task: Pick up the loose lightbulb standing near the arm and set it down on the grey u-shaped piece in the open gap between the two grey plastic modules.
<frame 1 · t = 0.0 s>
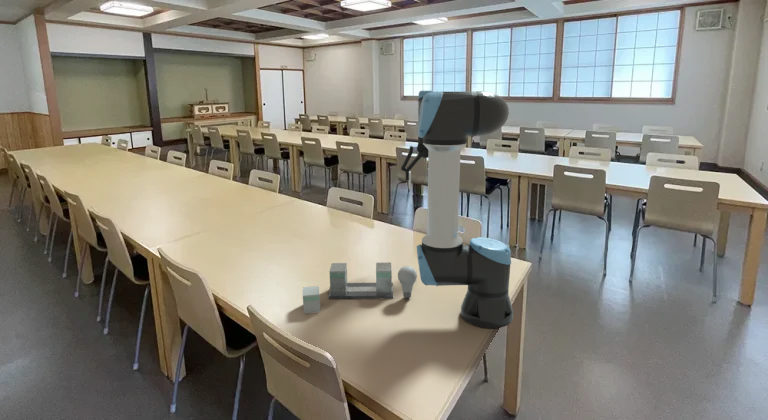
hand: (427, 188, 172), 28 cm above the table, fingers open, 13 cm apart
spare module: (311, 308, 138), on the table
grey u-shaped piece: (361, 291, 149), on the table
lightbulb: (407, 298, 144), on the table
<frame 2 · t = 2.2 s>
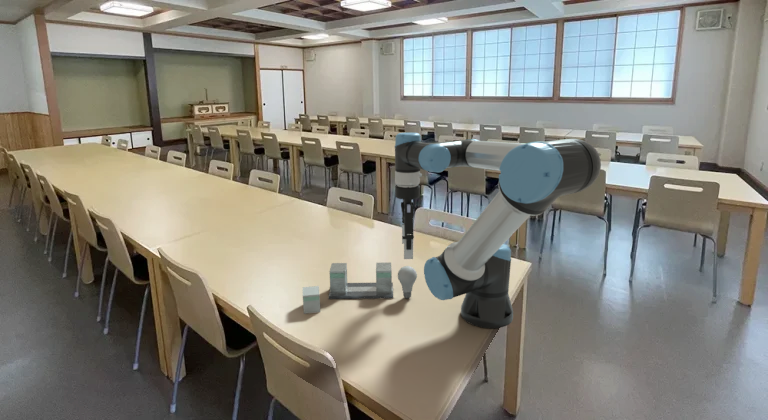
hand: (407, 250, 140), 16 cm above the table, fingers open, 13 cm apart
nothing on the table moved.
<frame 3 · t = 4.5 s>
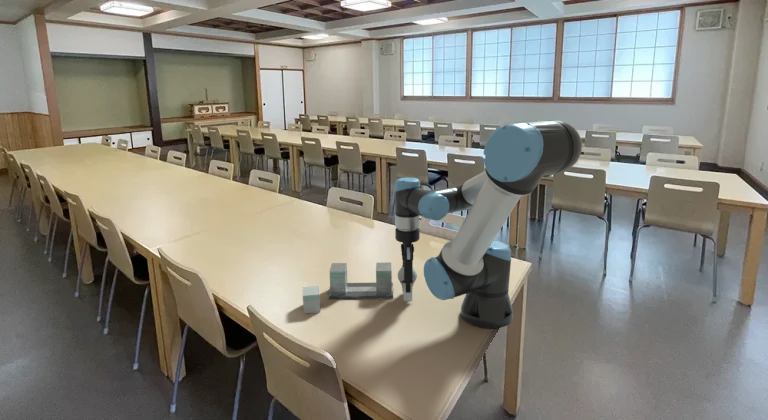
hand: (407, 295, 144), 1 cm above the table, fingers closed on lightbulb, 6 cm apart
lightbulb: (407, 298, 144), on the table, touching gripper
everything else where it was.
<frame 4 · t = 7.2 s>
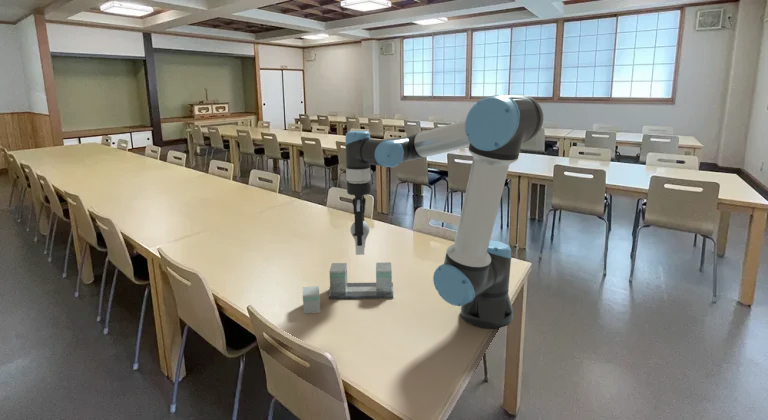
hand: (360, 250, 145), 15 cm above the table, fingers closed on lightbulb, 6 cm apart
lightbulb: (360, 253, 145), point 14 cm above the table, touching gripper
everything else where it was.
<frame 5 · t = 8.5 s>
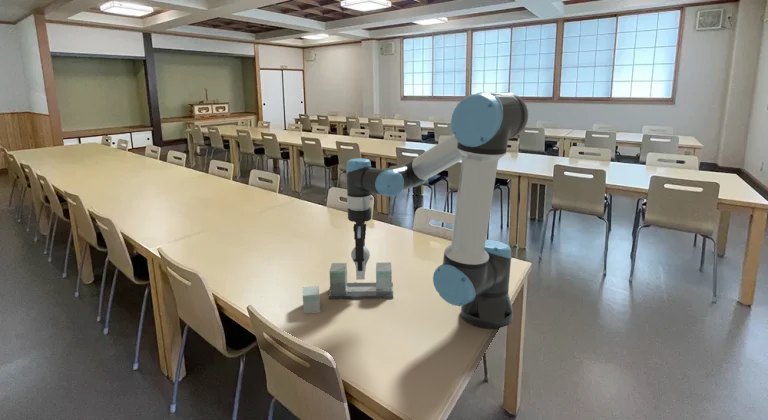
hand: (360, 274, 147), 6 cm above the table, fingers closed on lightbulb, 6 cm apart
lightbulb: (361, 277, 148), point 5 cm above the table, touching gripper
everything else where it was.
when the fingers open (4 cm above the table, at t = 9.7 s): lightbulb drops 2 cm, resting on grey u-shaped piece.
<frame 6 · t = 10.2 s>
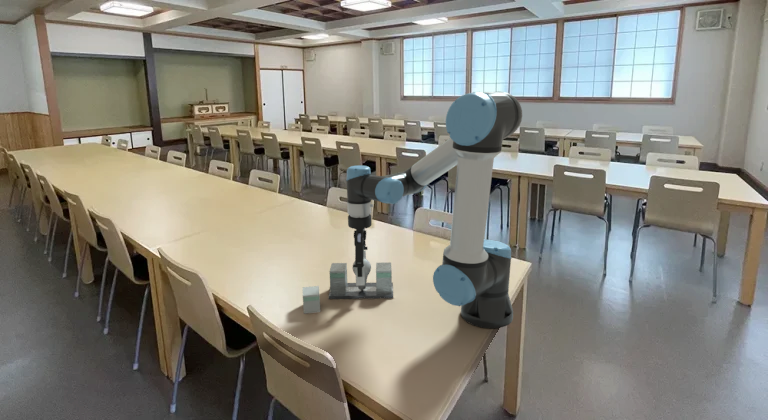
hand: (361, 276, 147), 6 cm above the table, fingers open, 12 cm apart
lightbulb: (362, 290, 148), point 1 cm above the table, touching grey u-shaped piece
everything else where it was.
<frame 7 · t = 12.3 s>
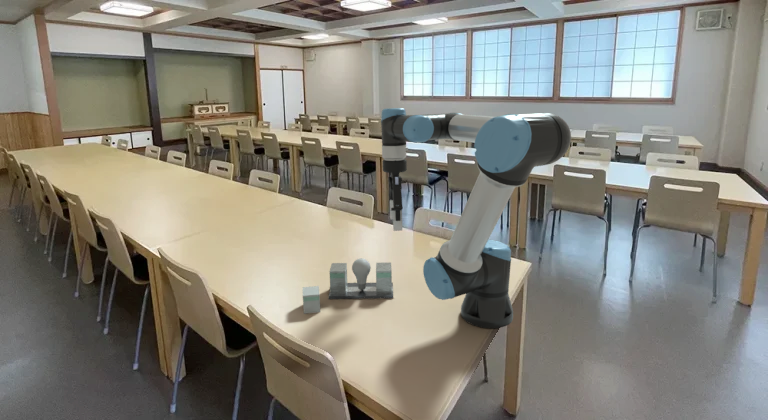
hand: (396, 224, 144), 23 cm above the table, fingers open, 13 cm apart
nothing on the table moved.
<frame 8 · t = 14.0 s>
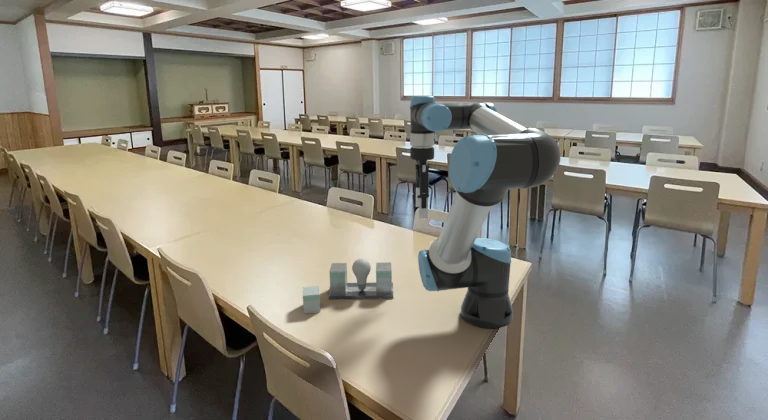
hand: (421, 212, 145), 27 cm above the table, fingers open, 13 cm apart
nothing on the table moved.
at the end: lightbulb inside the target area on the grey u-shaped piece (0.9 cm from its centre), point 0.8 cm above the grey u-shaped piece's base; the gripper is holding nothing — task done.
